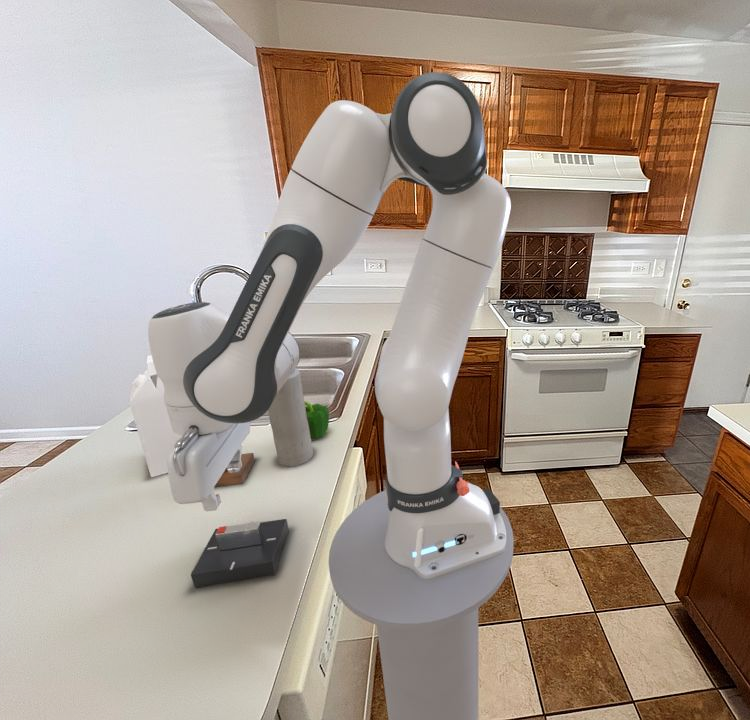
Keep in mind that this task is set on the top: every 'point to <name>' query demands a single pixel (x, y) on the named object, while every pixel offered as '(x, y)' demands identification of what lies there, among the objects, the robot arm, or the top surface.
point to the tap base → (241, 558)
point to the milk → (152, 419)
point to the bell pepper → (317, 420)
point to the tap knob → (239, 536)
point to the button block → (240, 476)
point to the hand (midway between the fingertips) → (225, 487)
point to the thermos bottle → (291, 423)
